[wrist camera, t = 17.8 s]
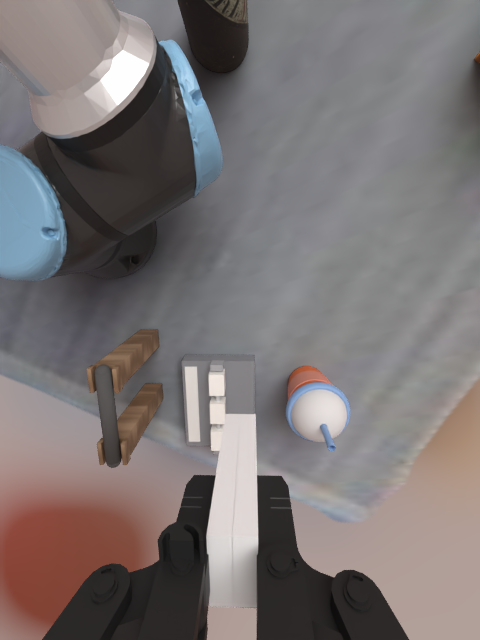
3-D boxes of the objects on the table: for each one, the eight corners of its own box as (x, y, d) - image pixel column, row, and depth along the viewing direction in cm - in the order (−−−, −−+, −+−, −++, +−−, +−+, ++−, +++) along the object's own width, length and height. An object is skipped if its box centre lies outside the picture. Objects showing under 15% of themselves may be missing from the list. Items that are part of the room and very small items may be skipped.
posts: (139, 329, 52) (86, 369, 36) (159, 329, 52) (116, 369, 36) (145, 398, 56) (99, 464, 39) (164, 398, 55) (126, 465, 39)
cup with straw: (269, 379, 54) (277, 444, 36) (309, 347, 52) (339, 398, 35) (301, 414, 55) (325, 493, 38) (342, 384, 53) (386, 452, 36)
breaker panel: (185, 353, 53) (178, 364, 48) (254, 354, 53) (254, 365, 48) (189, 436, 57) (184, 453, 52) (254, 437, 57) (254, 455, 52)
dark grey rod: (98, 362, 37) (90, 367, 35) (113, 362, 37) (106, 367, 35) (110, 460, 40) (104, 470, 38) (124, 461, 40) (118, 471, 38)
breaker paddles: (210, 368, 50) (208, 374, 48) (225, 368, 50) (223, 374, 48) (213, 441, 53) (211, 450, 51) (226, 441, 53) (225, 450, 51)
